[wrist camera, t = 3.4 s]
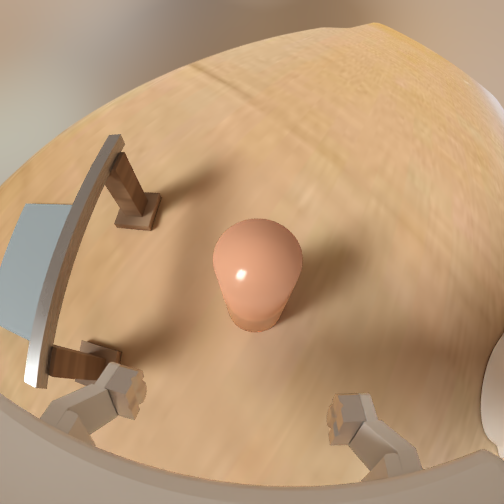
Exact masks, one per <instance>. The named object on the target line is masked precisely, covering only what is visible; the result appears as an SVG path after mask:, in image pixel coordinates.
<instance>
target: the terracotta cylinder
mask: <svg viewBox="0 0 504 504" xmlns="http://www.w3.org/2000/svg"><path fill="white" fill-rule="evenodd" d="M302 264H303V256H302V251H301V247H300V245H299V243H298V241H297V239H296V238H295V236H294V235H293V234H292V233H291V232H290V231H289V230H288V229H287V228H285V227H284V226H282V225H280V224H279V223H276V222H274V221H271V220H266V219H249V220H244V221H241V222H239V223H236V224H235V225H233V226H231V227H230V228H229V229H227V230H226V231H225V232H224V233H223V234H222V235H221V237H220V238H219V240H218V242H217V244H216V246H215V249H214V254H213V265H214V270H215V273H216V276H217V279H218V282H219V285H220V288H221V291H222V294H223V297H224V300H225V303H226V306H227V309H228V312H229V315H230V317H231V319H232V320H233V322H234V323H235V324H236V325H237V326H238V327H240V328H241V329H243V330H245V331H249V332H262V331H265V330H267V329H269V328H271V327H272V326H274V325H275V324H276V322H277V321H278V320H279V318H280V316H281V314H282V312H283V310H284V308H285V306H286V303H287V301H288V299H289V297H290V295H291V293H292V291H293V289H294V286H295V284H296V282H297V280H298V278H299V275H300V273H301V270H302Z"/></svg>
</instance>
